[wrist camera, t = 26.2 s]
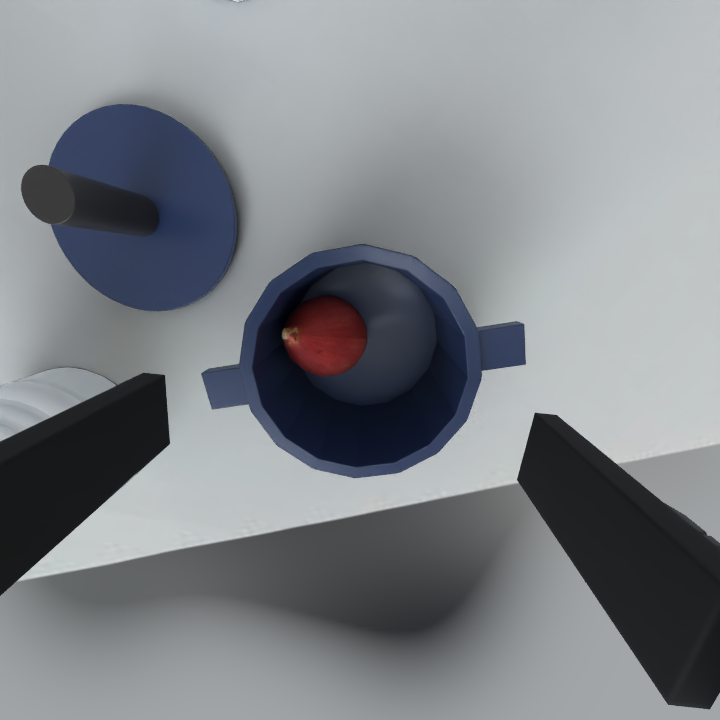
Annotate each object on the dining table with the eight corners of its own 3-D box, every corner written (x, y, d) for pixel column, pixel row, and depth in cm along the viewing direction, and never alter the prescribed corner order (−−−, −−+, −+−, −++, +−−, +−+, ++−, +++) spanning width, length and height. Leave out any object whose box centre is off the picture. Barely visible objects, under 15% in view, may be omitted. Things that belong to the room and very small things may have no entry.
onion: (345, 383, 28) (271, 397, 22) (319, 325, 30) (241, 322, 23) (398, 350, 25) (331, 354, 19) (366, 286, 26) (292, 270, 20)
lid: (29, 133, 25) (-141, 67, 17) (211, 92, 24) (125, -1, 16) (99, 321, 29) (-12, 343, 21) (260, 294, 28) (211, 306, 20)
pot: (237, 275, 28) (164, 279, 18) (470, 233, 26) (526, 214, 16) (275, 423, 31) (230, 493, 21) (482, 395, 30) (534, 457, 20)
